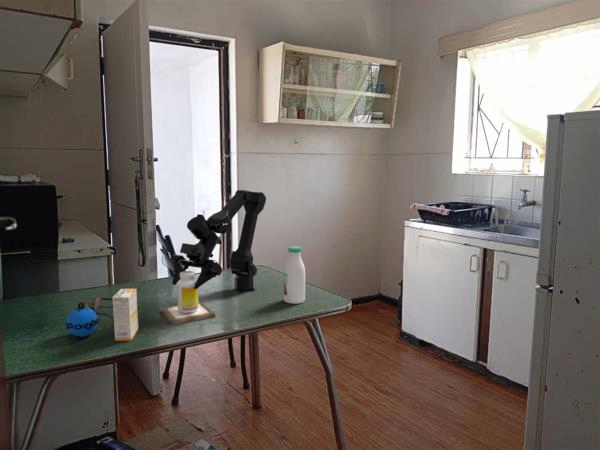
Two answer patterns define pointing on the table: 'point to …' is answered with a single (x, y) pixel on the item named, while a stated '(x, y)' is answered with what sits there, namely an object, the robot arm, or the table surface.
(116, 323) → the supplement box
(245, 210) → the robot arm
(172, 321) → the walnut picture frame
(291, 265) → the milk bottle
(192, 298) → the supplement bottle
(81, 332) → the ornament
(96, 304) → the eyeglasses
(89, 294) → the table surface
